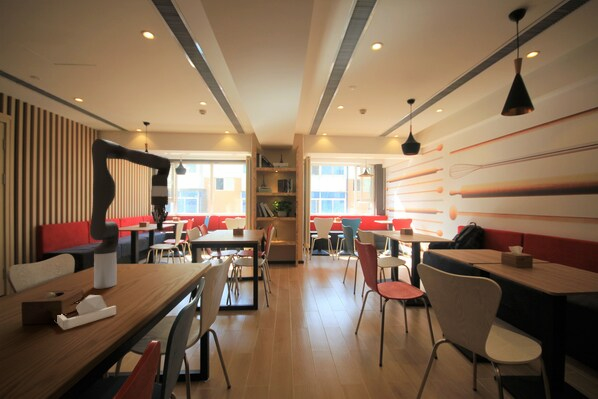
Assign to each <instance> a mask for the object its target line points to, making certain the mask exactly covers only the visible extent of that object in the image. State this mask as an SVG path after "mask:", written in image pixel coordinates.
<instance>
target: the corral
mask: <svg viewBox="0 0 598 399" xmlns="http://www.w3.org/2000/svg"><path fill="white" fill-rule="evenodd" d="M116 314H117V306H116V305H112V306H109V307H108V306H107V308H104V309H101V310H98V311H96V312H91V313H87V314H83V315H79V314H78V315H77V316H73V317H69V318H67V317H66V315H63V314H61V315H57V322H56V321H55V323H56V324H58V326H59V327H60V328H61V329H62V330H63V331H65V330H68V329H72V328H75V327H78V326H82V325H85V324H88V323H89V324H90V323H92V322H94V321H98V320H102V319H105V318H109V317H111V316H114V315H116Z"/></svg>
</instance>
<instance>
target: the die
mask: <svg viewBox="0 0 598 399" xmlns="http://www.w3.org/2000/svg"><path fill="white" fill-rule="evenodd" d="M79 302H80V303H79V304H78V305H77V306H76V309H77V313H78V316H79V315H83V314H87V313H91V312H96V311H98V310H101V309H104V308H108V306H107V304H106V302H105V300H104V298H103V296H102V295H98V294H96V295H95V294H89V295H88V296H86V297H85V298H84V299H82V300H81V301H79Z"/></svg>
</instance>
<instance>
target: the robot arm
mask: <svg viewBox="0 0 598 399" xmlns="http://www.w3.org/2000/svg"><path fill="white" fill-rule="evenodd" d="M91 157H92V158H91V159H92V167H93V169H92V170H93V171H92V173H93V175H92V178H93V180H92V210H91V211H92V212H91V216H90V217H91V219H90V224H89V225H90V226H89V234H90V237H91V239H93V240H94V241H101V243H100V244H99V245H98V246H97V245H96V247H94V249H93V260H94V261H93V266H94V267H93V276H94V277H93V288H94V289H97V290H98V289H99V290H100V289H107V288H112V287H115V286H116V285H117V249H118V247H119V239H120V238H119V236H120V229H119V228H120V227H119V226H118V223H117V222H115V221H112V220H108V221H107V220H106V219H107V218H106V217H107V212H108V209H109V208H110V206H111V205H112V204H113V202H114V200H115V197H116V182H115V179H114V177H113V176H112V174H111V172H110V170H109V167H108V160H123V161H128V162H130V163H133V164H135V165H138V166H143V167H147V168H150V169H153V170H157V172H156V174H153V175H152V176H151V190H150V205H151V206H154V207H153V211H151V212H150V213H151V216H152V218H153V222H155V223H156V231H159V232H161V231H163V229H164V228H163V223H165V222H166V220H167V219H168V215H169V211H167V208H166V206H168V205H169V188H168V180H169V179H168V178H169V174H170V171H171V166H172V164H171V160H170V159H169V158H168V157H166V156H162V155H159V154H154V153H149V152H146V151H142V150H139V149H133V148H132V149H131V148H128V147H126V146H122V145H121V144H118V143H117V142H114V141H111V140H107V139H103V138H96V139H94V141H93V142H92V144H91Z"/></svg>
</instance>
